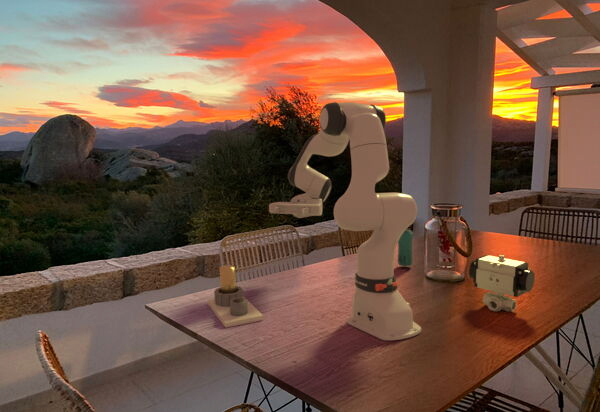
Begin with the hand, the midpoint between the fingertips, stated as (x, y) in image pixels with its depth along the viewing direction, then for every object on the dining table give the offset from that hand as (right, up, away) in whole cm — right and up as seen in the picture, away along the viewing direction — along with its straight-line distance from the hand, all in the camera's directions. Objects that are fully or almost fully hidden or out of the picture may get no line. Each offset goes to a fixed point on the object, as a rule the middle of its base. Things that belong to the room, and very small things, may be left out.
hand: (288, 211), depth 153 cm
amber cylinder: (-20, -30, -10) cm, 38 cm away
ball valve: (+68, -32, -16) cm, 77 cm away
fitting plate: (-18, -32, -15) cm, 40 cm away
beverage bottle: (+50, -25, +33) cm, 65 cm away
